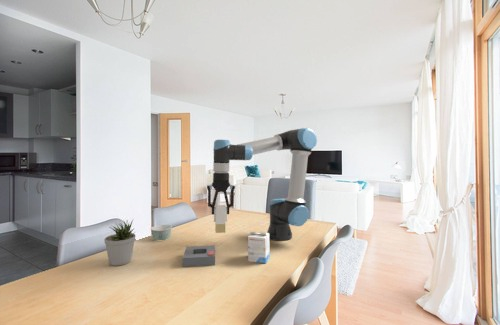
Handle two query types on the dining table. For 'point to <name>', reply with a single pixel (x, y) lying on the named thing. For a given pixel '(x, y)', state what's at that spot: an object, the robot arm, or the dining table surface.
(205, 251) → the socket
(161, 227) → the food container
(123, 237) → the potted plant
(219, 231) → the plug
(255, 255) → the ink box
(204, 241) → the dining table surface
